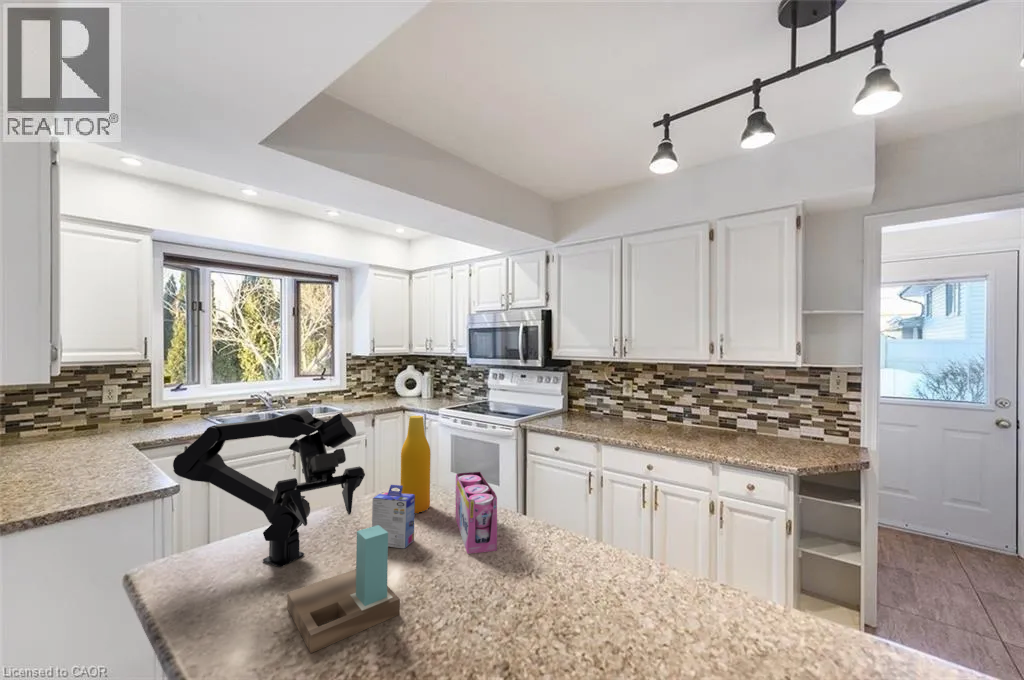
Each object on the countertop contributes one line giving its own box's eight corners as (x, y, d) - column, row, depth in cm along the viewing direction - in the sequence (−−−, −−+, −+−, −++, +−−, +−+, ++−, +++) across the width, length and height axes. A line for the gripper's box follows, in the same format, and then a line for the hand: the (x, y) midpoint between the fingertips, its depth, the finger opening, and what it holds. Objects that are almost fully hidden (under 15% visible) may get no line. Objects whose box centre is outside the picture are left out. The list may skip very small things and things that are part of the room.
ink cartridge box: (415, 539, 112) (416, 485, 112) (406, 549, 107) (406, 492, 107) (381, 536, 114) (382, 482, 114) (370, 545, 109) (371, 489, 109)
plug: (355, 595, 82) (356, 531, 82) (377, 586, 85) (378, 524, 85) (364, 606, 78) (365, 539, 79) (387, 597, 81) (388, 532, 81)
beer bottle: (416, 500, 140) (417, 413, 140) (436, 507, 134) (437, 416, 135) (393, 509, 132) (395, 417, 133) (413, 516, 127) (415, 420, 127)
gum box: (499, 553, 105) (499, 499, 106) (467, 557, 103) (468, 501, 103) (480, 515, 128) (481, 471, 129) (454, 518, 126) (455, 473, 126)
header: (287, 607, 83) (287, 591, 83) (367, 578, 93) (367, 564, 93) (310, 653, 71) (311, 634, 71) (399, 614, 81) (399, 597, 81)
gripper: (276, 444, 90) (288, 511, 82) (362, 432, 102) (380, 490, 94) (267, 472, 96) (278, 538, 88) (350, 458, 108) (366, 515, 100)
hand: (328, 519), depth 92 cm, fingers open, 9 cm apart
